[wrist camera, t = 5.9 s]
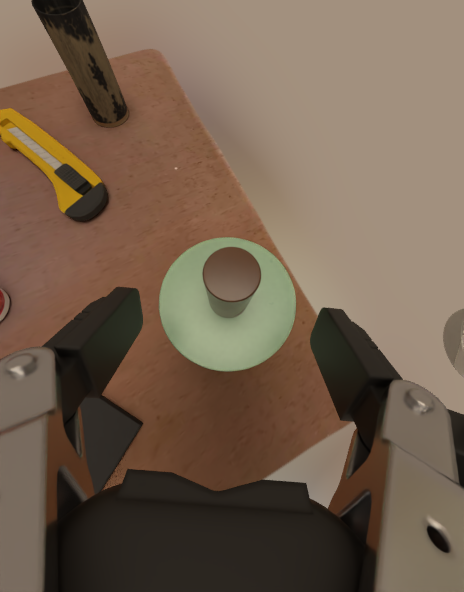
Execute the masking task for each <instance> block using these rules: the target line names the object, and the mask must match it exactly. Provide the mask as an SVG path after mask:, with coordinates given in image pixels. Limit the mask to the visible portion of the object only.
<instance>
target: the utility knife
mask: <svg viewBox="0 0 464 592" xmlns="http://www.w3.org/2000/svg"><path fill="white" fill-rule="evenodd" d="M0 135H1V139H2V140H3V141H4V142H5V143H6V144H7V145H8V146H9V147H10V148H12V149H18V150H19V151H20V152H21V153H22V154H24V155H25V156H26V157H27V158H28V159H29V160H31V161H32V162H33V163H34V164H35V165H36V166H37V167H39V168H40V169H41V170H42V171H43V172H44V173H45V174H46V175H47V177H48V178H49V179H50V180H51V182H52V183H53V185H54V188H55V190H56V193H57V199H58V204H59V209H60V210H61V211H62V212H63V213H65V214H66V215H67V216H68V217H70V218H72V219H74V220H76V221H85V220H88V219H91V218H93V217H94V216H95V215H97V214H98V213H99V212H100V211H101V210H102V209H103V207H104V206H105V204H106V201H107V195H108V193H107V190H106V187H105V185H104V184H103V182H102V181H101V179H100V178H99V177H98V176H97V175H96V174H95V173H94V172H93V171H92V170H91V169H90V168H89V167H88V166H86V165H85V164H84V163H83V162H82V161H81V160H79V159H78V158H77V157H76V156H75V155H74V154H72V153H71V152H70V151H69V150H68V149H66V148H65V147H64V146H63V145H61V144H60V143H59V142H58V141H56V140H55V139H54V138H53V137H51V136H50V135H49V134H47V133H46V132H45V131H43V130H42V129H41V128H40V127H38V126H37V125H36V124H34V123H33V122H32V121H30V120H29V119H27V118H26V117H24V116H22V115H21V114H19V113H18V112H16V111H15V110H13V109H12V108H9V109H3V110H0Z"/></svg>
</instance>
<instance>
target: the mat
mask: <svg viewBox="0 0 464 592" xmlns="http://www.w3.org/2000/svg"><path fill="white" fill-rule="evenodd" d="M79 407H80V409H81V415H82V424H83V433H84V442H85V450H86V459H87V465H88V469H89V473H90V476H91V479H92V483H93V488H94V493H95V494H97V493H99V492H101V490H102V489H103V487H104V486H105V484H106V482H107V481H108V479H109V478H110V476H111V474H112V473H113V471H114V470H115V468H116V466H117V465H118V463H119V461H120V460H121V458H122V457H123V455H124V453H125V452H126V450H127V449H128V447H129V445H130V444H131V442H132V440H133V439H134V437H135V436H136V434H137V432H138V431H139V429H140V428H141V426H142V424H143V423H142V422H141V421H139V420H138V419H136V418H135V417H133V416H131V415H130V414H128V413H127V412H125V411H124V410H122V409H121V408H119V407H118V406H116V405H115V404H113V403H112V402H110V401H109V400H107V399H106V398H104V397H103V396H100V397H99V399H98V398H86V397H85V398H84V400H83V401H82V403H81V404H80V406H79Z"/></svg>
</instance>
